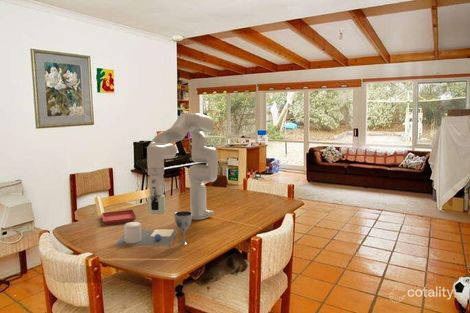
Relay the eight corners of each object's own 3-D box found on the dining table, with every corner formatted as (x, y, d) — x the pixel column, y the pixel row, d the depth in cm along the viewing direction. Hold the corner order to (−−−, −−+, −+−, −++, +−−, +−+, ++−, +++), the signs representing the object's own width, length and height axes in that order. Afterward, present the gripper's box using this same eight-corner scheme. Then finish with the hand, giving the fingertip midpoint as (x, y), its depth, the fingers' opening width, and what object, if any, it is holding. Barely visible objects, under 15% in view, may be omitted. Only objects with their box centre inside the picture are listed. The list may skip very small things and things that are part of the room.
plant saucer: (102, 217, 198) (101, 212, 198) (133, 214, 205) (132, 209, 205) (103, 227, 182) (102, 221, 181) (137, 222, 189) (136, 217, 189)
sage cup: (166, 209, 162) (166, 193, 161) (163, 214, 154) (162, 197, 153) (151, 209, 162) (151, 193, 161) (147, 214, 154) (146, 197, 153)
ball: (161, 239, 161) (161, 232, 161) (160, 241, 158) (160, 235, 157) (155, 239, 161) (155, 232, 161) (153, 241, 158) (153, 235, 158)
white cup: (143, 237, 163) (142, 221, 162) (138, 243, 156) (137, 226, 155) (127, 237, 163) (127, 221, 162) (122, 243, 156) (122, 226, 155)
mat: (177, 230, 174) (177, 229, 174) (169, 246, 154) (169, 244, 153) (128, 230, 175) (128, 229, 174) (114, 246, 154) (114, 244, 154)
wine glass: (175, 241, 160) (175, 211, 158) (192, 240, 161) (192, 210, 159) (174, 247, 152) (173, 216, 150) (191, 247, 153) (191, 215, 151)
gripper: (159, 174, 147) (160, 212, 149) (167, 168, 164) (168, 202, 166) (142, 174, 147) (144, 212, 149) (152, 168, 164) (153, 202, 166)
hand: (157, 207), depth 158 cm, fingers closed on sage cup, 7 cm apart
